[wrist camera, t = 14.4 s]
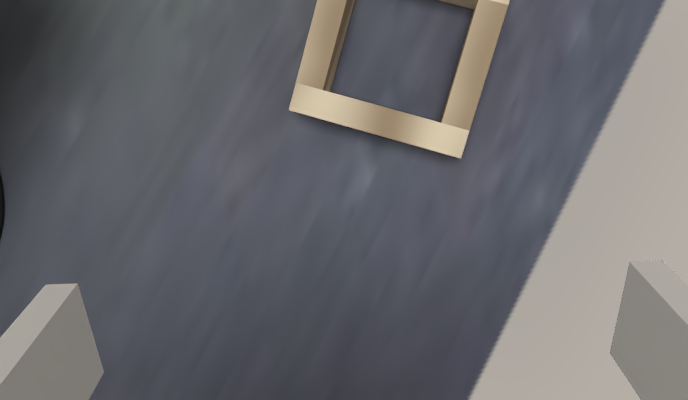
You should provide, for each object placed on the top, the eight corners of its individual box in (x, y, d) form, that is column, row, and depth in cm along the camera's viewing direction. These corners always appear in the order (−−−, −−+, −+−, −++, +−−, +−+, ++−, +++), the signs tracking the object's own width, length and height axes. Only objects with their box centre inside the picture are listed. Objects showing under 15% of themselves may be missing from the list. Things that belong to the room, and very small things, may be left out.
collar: (298, 112, 32) (288, 110, 29) (342, -54, 30) (335, -71, 28) (457, 157, 31) (460, 158, 28) (508, -12, 30) (517, -26, 27)
